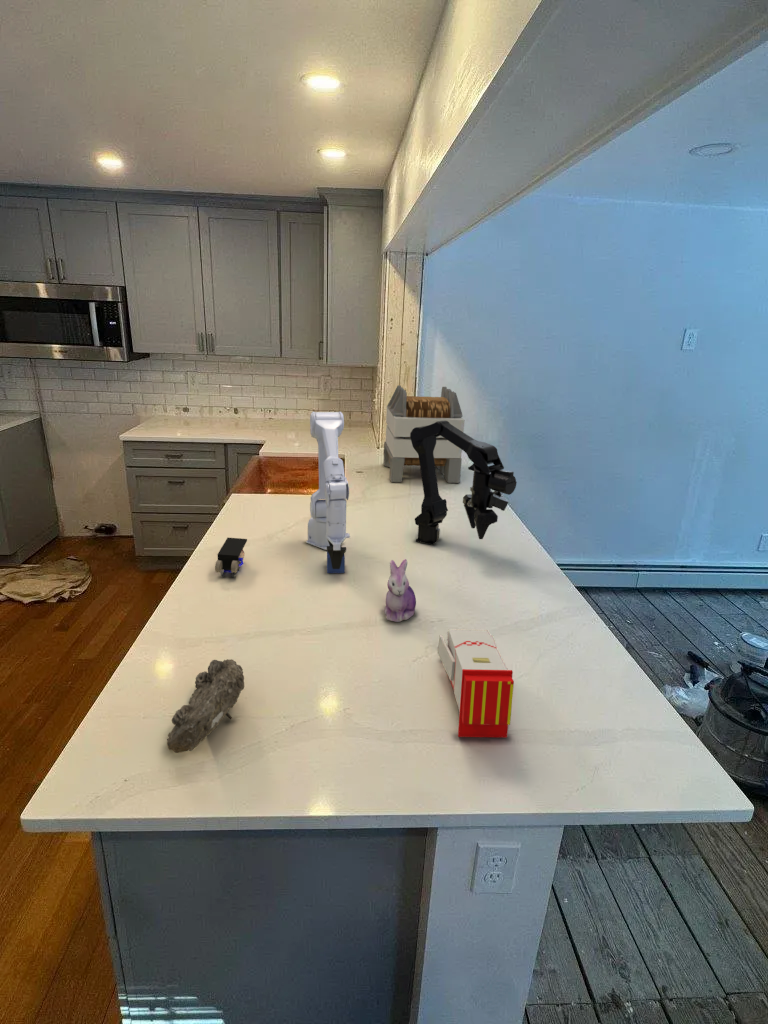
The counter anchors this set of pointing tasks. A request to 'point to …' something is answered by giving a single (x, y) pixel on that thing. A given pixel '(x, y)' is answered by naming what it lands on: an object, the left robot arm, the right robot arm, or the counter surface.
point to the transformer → (418, 413)
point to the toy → (478, 682)
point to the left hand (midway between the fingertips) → (335, 563)
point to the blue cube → (331, 570)
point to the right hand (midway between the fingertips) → (476, 533)
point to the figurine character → (230, 556)
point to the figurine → (399, 594)
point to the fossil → (206, 705)
